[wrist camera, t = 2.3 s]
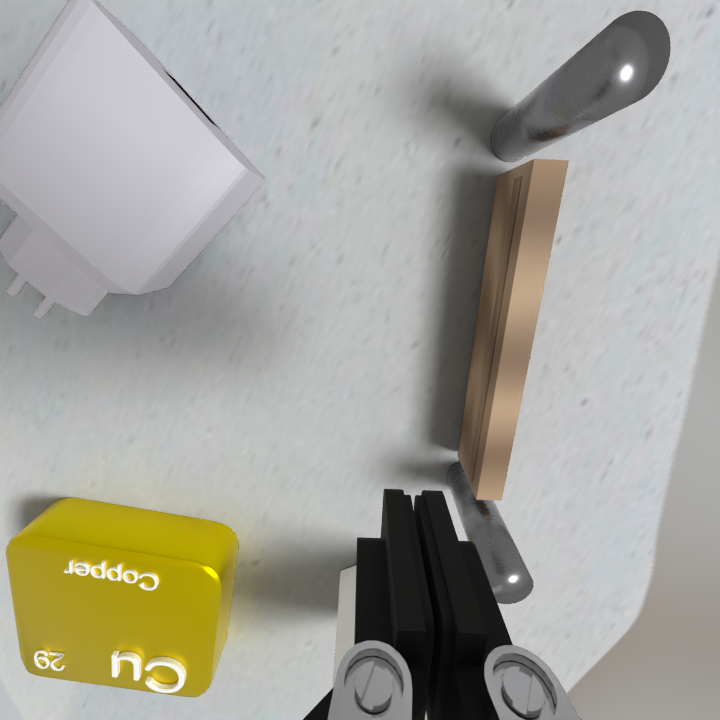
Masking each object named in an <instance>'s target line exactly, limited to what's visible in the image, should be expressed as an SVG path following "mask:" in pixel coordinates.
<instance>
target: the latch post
mask: <svg viewBox="0 0 720 720" xmlns="http://www.w3.org/2000/svg"><path fill="white" fill-rule="evenodd" d="M447 481H448V484H449V487H450V490H451V493H452V495H453V498H454V501H455V504H456V507H457V510H458V513H459V516H460V518H461V521H462V524H463V527H464V530H465V533H466V536H467V539H468V541H472V542H473V543H474V544H475V546H476V548H477V551H478V553H479V556H480V559H481V561H482V564H483V567H484V569H485V572H486V575H487V577H488V580H489V583H490V585H491V588H492V591H493V593H494V596H495V599H496V601H497V603H501V604H512V603H516V602H519V601H521V600H523V599H525V598H526V597H527V596H528V595H529V594H530V593H531V591H532V589H533V580H532V578H531V576H530V574H529V572H528V570H527V568H526V566H525V564H524V562H523V560H522V557H521V555H520V553H519V551H518V549H517V547H516V545H515V543H514V541H513V539H512V537H511V535H510V533H509V531H508V529H507V527H506V525H505V523H504V521H503V519H502V517H501V515H500V513H499V511H498V509H497V507H496V505H495V503H494V501H493V500H476V497H475V495H474V493H473V490H472V488H471V486H470V483H469V481H468V479H467V477H466V474H465V472H464V470H463V467H462V465H461V463H460V462H458V463H456V464H454V465H452V466H451V467H450V468H449V470H448V472H447Z"/></svg>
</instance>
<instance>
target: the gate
mask: <svg viewBox="0 0 720 720" xmlns="http://www.w3.org/2000/svg"><path fill="white" fill-rule="evenodd" d="M568 162H569V160H543V159H534V160H531V161H529V162H527V163H525V164H523V165H520V166H518V167H516V168H514V169H512V170H510V171H507V172H505V173H503V174H501V175H499V176H497V182H496V189H495V196H494V203H493V210H492V217H491V224H490V231H489V238H488V245H487V252H486V259H485V266H484V273H483V280H482V287H481V294H480V301H479V308H478V315H477V323H476V330H475V337H474V344H473V351H472V358H471V365H470V372H469V379H468V386H467V393H466V400H465V407H464V414H463V421H462V428H461V435H460V442H459V449H458V458H459V460H460V463H461V465H462V467H463V470H464V472H465V474H466V477H467V479H468V481H469V483H470V486H471V488H472V490H473V493H474V495H475V497H476V500H502V496H503V491H504V486H505V481H506V476H507V470H508V465H509V460H510V455H511V450H512V445H513V440H514V435H515V430H516V425H517V420H518V415H519V410H520V405H521V400H522V395H523V390H524V385H525V379H526V374H527V369H528V364H529V359H530V354H531V349H532V344H533V339H534V334H535V329H536V324H537V319H538V314H539V309H540V304H541V299H542V294H543V288H544V283H545V278H546V273H547V268H548V263H549V258H550V253H551V248H552V243H553V238H554V233H555V228H556V223H557V218H558V213H559V208H560V203H561V197H562V192H563V187H564V182H565V177H566V172H567V167H568Z"/></svg>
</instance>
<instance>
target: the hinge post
mask: <svg viewBox="0 0 720 720" xmlns="http://www.w3.org/2000/svg"><path fill="white" fill-rule="evenodd" d="M669 57H670V37H669V34H668V31H667V28H666V26H665V25H664V23H663V22H662V21H661V19H660V18H658V17H657V16H656V15H654V14H652V13H650V12H647V11H633V12H629V13H626V14H624V15H622V16H620V17H618V18H617V19H615V20H614V21H613V22H612V23H611V24H609V25H608V26H607V27H606V28H605V29H604V30H603V31H601V32H600V33H599V34H598V35H597V36H596V37H594V38H593V39H592V40H591V41H590V42H589V43H588V44H586V45H585V46H584V47H583V48H582V49H581V50H579V51H578V52H577V53H576V54H575V55H574V56H573V57H571V58H570V59H569V60H568V61H567V62H566V63H564V64H563V65H562V66H561V67H560V68H559V69H558V70H556V71H555V72H554V73H553V74H552V75H551V76H549V77H548V78H547V79H546V80H545V81H544V82H543V83H541V84H540V85H539V86H538V87H537V88H536V89H534V90H533V91H532V92H531V93H530V94H529V95H527V96H526V97H525V98H524V99H523V100H522V101H521V102H519V103H518V104H517V105H516V106H515V107H514V108H512V109H511V110H510V111H509V112H508V113H507V114H506V115H504V116H503V117H502V118H501V119H500V120H499V121H498V122H497V124H496V125H495V127H494V129H493V132H492V138H491V144H492V148H493V151H494V153H495V154H496V156H497V157H498V158H499V159H501V160H503V161H506V162H516V161H519V160H521V159H523V158H525V157H527V156H529V155H531V154H533V153H535V152H537V151H539V150H541V149H543V148H545V147H547V146H549V145H551V144H553V143H555V142H557V141H559V140H561V139H563V138H565V137H567V136H569V135H571V134H573V133H575V132H577V131H579V130H581V129H583V128H585V127H587V126H589V125H591V124H593V123H595V122H597V121H599V120H601V119H603V118H605V117H607V116H609V115H611V114H613V113H615V112H617V111H619V110H621V109H623V108H625V107H627V106H629V105H631V104H633V103H635V102H637V101H639V100H641V99H642V98H644V97H645V96H647V95H648V94H649V93H650V92H651V91H652V90H653V89H654V88H655V87H656V85H657V84H658V83H659V81H660V80H661V78H662V76H663V74H664V72H665V70H666V68H667V65H668V61H669Z"/></svg>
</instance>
